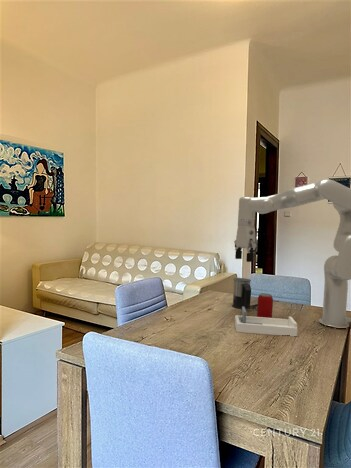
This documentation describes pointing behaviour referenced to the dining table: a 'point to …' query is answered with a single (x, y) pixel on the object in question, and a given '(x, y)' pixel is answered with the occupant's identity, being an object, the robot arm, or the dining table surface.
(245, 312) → the pusher
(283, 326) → the white tray
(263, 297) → the beverage can
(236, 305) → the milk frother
